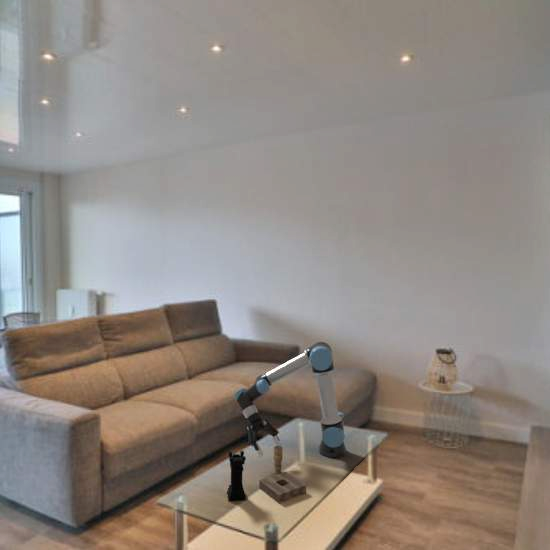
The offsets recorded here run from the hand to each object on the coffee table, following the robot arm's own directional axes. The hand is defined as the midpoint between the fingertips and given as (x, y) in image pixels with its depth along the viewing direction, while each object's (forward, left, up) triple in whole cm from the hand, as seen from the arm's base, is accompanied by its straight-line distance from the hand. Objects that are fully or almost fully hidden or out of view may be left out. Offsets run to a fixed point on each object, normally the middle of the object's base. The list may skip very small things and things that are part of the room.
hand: (271, 451), depth 249 cm
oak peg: (-2, +4, -10) cm, 11 cm away
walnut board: (+7, +20, -10) cm, 24 cm away
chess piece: (+28, +12, -10) cm, 33 cm away
